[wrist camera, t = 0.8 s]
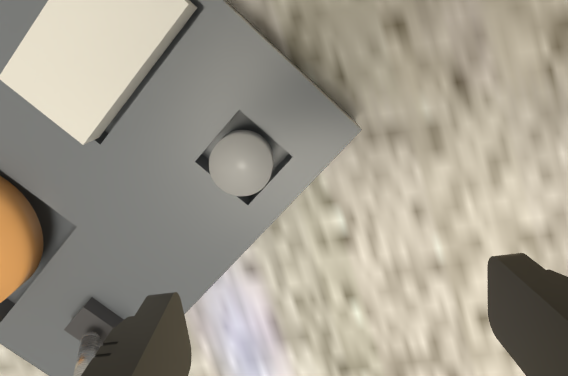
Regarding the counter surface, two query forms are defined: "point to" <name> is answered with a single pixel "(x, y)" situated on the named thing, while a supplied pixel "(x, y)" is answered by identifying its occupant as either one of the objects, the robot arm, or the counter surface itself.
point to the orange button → (17, 239)
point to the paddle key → (91, 58)
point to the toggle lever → (86, 351)
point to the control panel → (153, 179)
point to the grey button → (241, 163)
